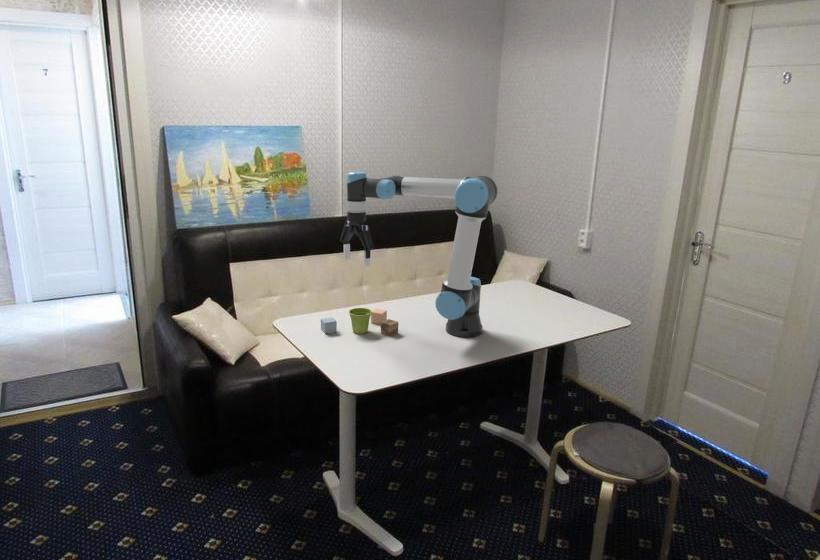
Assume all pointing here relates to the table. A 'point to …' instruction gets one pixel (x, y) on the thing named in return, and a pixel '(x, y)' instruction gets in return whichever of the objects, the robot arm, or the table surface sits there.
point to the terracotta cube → (378, 316)
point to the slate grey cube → (328, 325)
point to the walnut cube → (389, 327)
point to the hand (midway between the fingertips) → (356, 262)
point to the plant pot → (360, 319)
